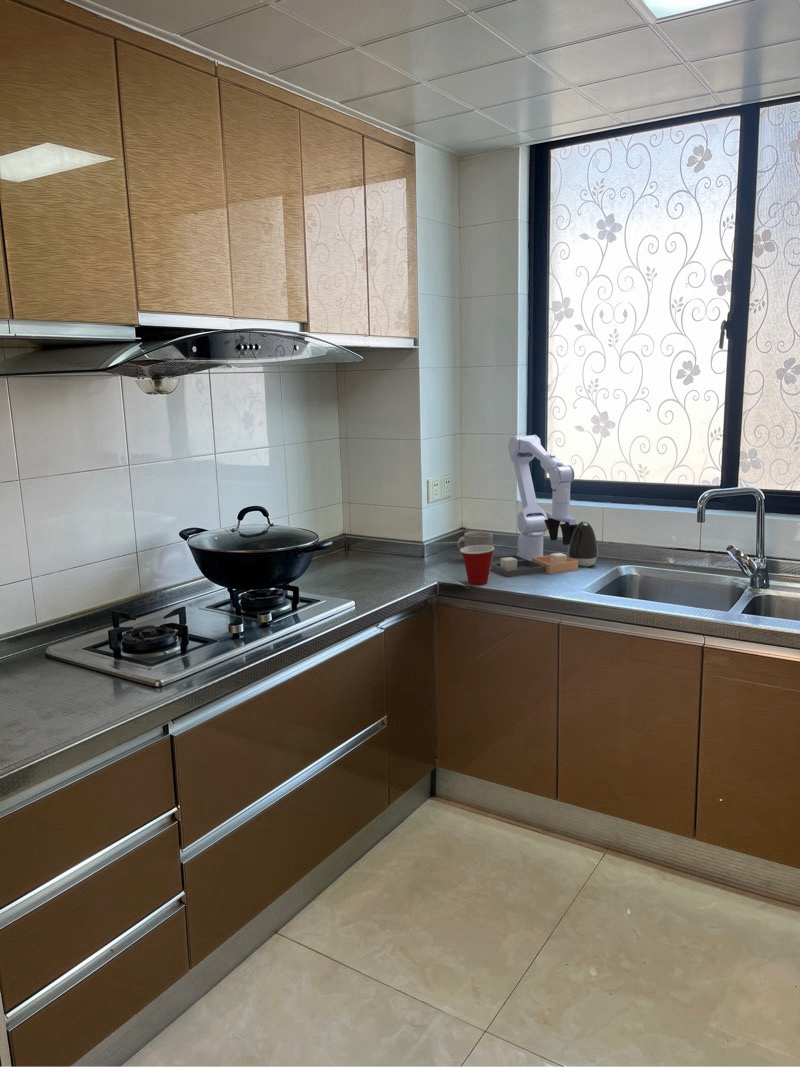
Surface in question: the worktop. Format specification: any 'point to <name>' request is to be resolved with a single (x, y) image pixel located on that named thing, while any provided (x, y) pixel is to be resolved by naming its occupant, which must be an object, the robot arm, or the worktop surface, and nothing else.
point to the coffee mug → (476, 539)
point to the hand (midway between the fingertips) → (560, 542)
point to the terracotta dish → (558, 567)
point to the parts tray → (520, 568)
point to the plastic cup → (477, 563)
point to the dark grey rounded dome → (583, 545)
